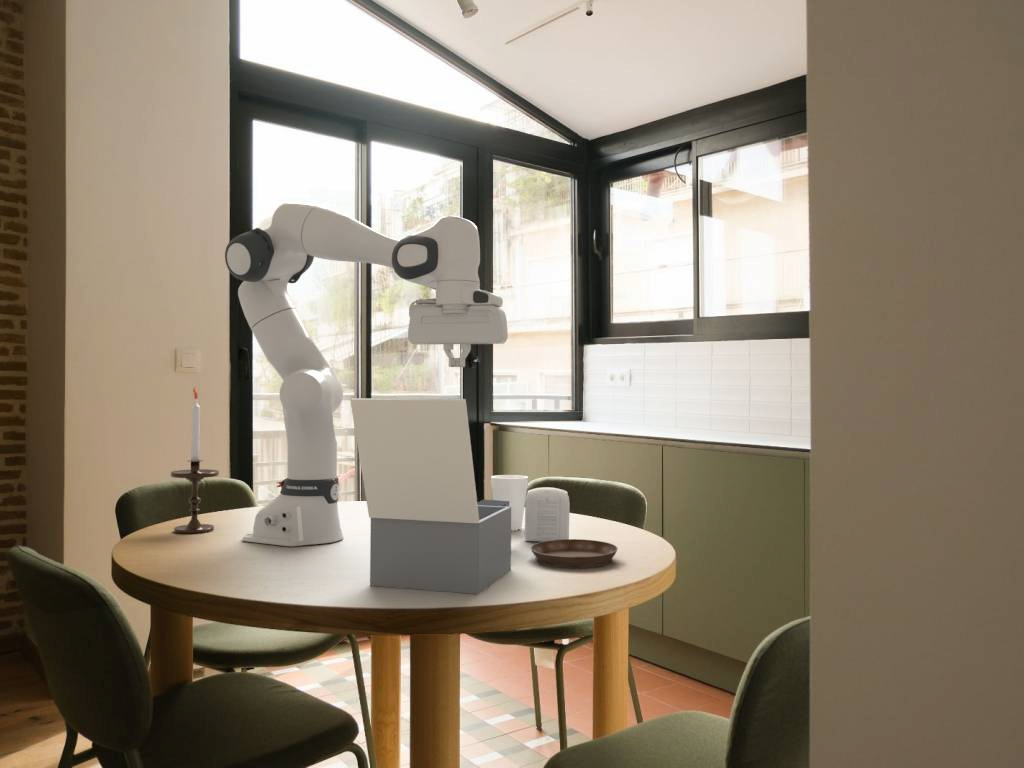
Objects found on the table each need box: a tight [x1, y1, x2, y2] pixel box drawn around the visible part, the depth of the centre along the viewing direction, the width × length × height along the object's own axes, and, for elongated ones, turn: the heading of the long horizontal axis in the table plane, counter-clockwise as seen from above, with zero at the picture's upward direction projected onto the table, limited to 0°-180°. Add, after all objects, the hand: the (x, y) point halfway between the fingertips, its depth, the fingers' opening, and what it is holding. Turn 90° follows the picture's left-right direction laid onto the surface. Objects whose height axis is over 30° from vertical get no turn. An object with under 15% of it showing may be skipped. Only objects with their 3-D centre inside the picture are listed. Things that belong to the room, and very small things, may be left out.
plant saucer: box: [530, 538, 619, 569], centre depth 161 cm, size 18×18×3 cm
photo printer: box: [524, 486, 571, 543], centre depth 182 cm, size 10×4×12 cm, turn 86°
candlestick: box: [170, 387, 220, 535], centre depth 193 cm, size 11×11×35 cm
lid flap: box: [349, 397, 479, 523], centre depth 132 cm, size 20×22×1 cm
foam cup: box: [490, 474, 529, 531], centre depth 199 cm, size 10×9×13 cm
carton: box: [369, 505, 512, 595], centre depth 145 cm, size 20×20×12 cm
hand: (456, 367), depth 158 cm, fingers closed
